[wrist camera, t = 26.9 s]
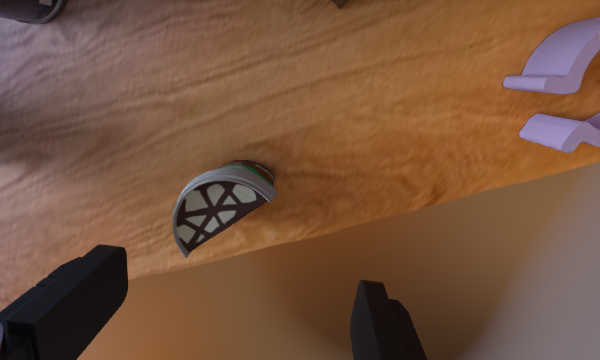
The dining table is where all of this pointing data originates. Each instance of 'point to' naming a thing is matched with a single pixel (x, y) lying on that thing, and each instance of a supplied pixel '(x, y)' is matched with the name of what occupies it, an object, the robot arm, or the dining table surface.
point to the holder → (340, 3)
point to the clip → (560, 84)
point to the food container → (219, 201)
